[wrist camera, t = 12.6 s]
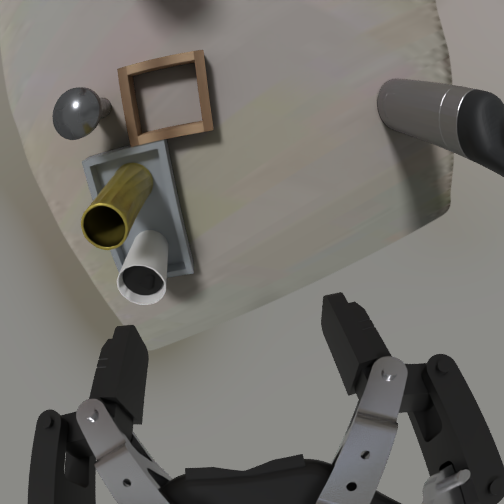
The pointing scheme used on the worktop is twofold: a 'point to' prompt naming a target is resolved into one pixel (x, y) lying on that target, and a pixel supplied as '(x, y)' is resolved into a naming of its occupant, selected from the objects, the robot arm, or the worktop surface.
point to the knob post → (79, 112)
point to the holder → (131, 104)
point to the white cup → (145, 269)
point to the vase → (117, 207)
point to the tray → (147, 201)
